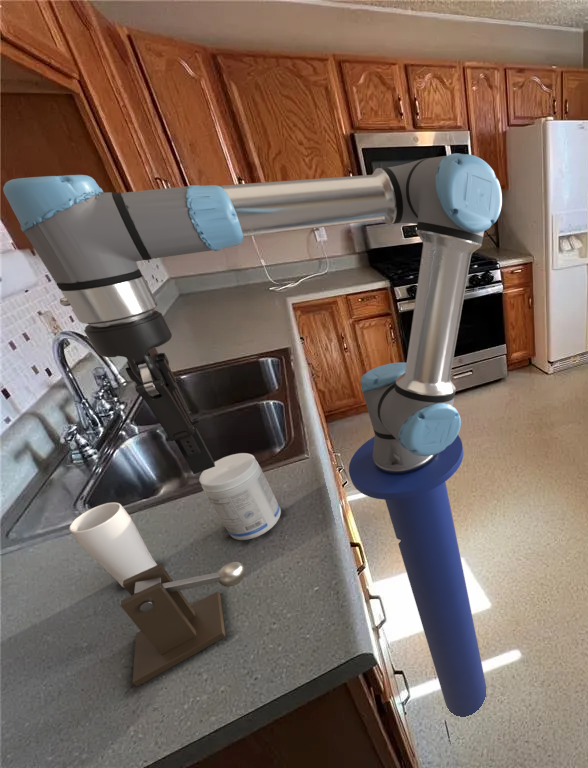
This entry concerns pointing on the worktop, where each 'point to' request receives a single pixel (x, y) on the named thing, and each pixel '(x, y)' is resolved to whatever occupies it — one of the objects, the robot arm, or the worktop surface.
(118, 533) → the white tapered cylinder
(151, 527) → the worktop surface
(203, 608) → the bracket
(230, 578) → the tap lever
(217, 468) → the supplement tub
